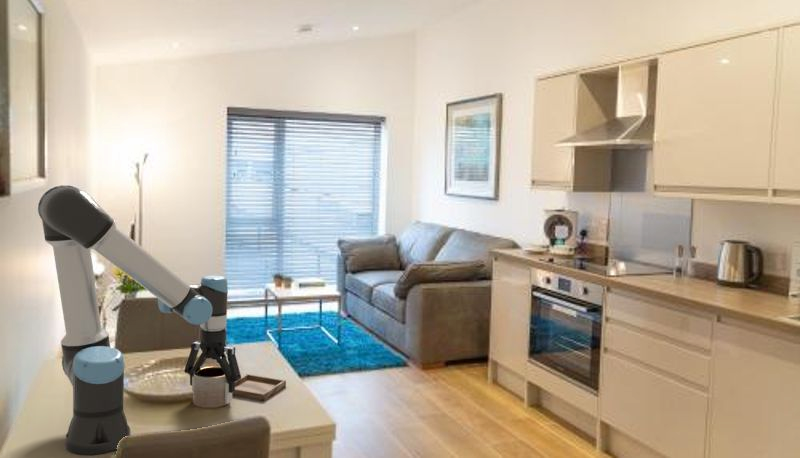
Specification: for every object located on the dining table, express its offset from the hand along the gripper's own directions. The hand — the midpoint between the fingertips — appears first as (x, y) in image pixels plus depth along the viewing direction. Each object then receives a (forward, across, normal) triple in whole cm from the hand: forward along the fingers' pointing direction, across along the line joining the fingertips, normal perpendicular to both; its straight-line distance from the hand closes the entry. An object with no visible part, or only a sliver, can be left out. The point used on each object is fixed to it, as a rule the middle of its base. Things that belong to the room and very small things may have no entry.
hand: (211, 399), depth 197 cm
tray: (+1, -6, -15) cm, 16 cm away
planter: (+1, 0, 0) cm, 1 cm away
